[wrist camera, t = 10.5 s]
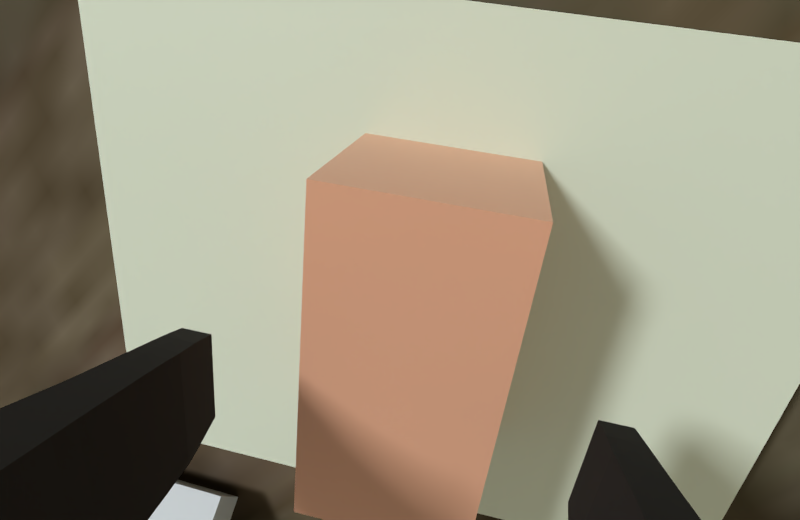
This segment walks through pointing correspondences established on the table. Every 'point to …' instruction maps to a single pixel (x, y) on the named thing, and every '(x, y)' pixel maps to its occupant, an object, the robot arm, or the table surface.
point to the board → (491, 133)
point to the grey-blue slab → (194, 504)
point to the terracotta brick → (411, 324)
